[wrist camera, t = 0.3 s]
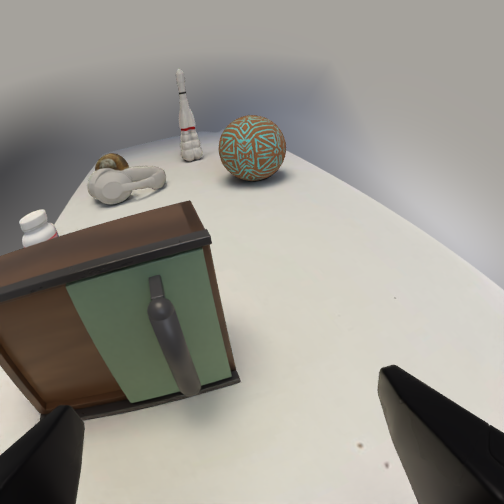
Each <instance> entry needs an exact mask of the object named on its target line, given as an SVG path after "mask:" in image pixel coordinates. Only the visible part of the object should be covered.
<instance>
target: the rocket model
mask: <svg viewBox="0 0 504 504" xmlns="http://www.w3.org/2000/svg"><path fill="white" fill-rule="evenodd" d="M176 80H177V84H178V90H179V97H180V102H179V103H180V112H179V128H181V134H182V135H181V137H180V139H181V143H180V147H181V156H182V158H183V159H184V160H187V161H192V160H194V159H200V158H201V157H202V153H203V151H202V148H201V147H200V141H199V140H198V135H197V133H196V130H195V127H194V126H196V124H195V120H194V117H193V113H192V111H191V110H190V108H189V105H188V100H187V97H186V89H185V78H184V73H183V72H182V71H181V70H180V69H178V71H177V73H176Z"/></svg>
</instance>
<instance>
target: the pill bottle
mask: <svg viewBox="0 0 504 504" xmlns="http://www.w3.org/2000/svg"><path fill="white" fill-rule="evenodd" d="M47 220H48V219H47V215H46V212H45V210H37V211H34V212H32V213H30V214H28V215H26V216H25V217H23V218H22V219H21V220H20V221H19V223H20V227H21V229H22V231H23V232H25V234H24V236H23V238H22V243H23V246H24V248H25V247H28V246H31V245H34V244H38V243H41V242H44V241H47V240H50V239H53V238H56V237H59V236H58V233H57V230H56V228H55V226H54V225H53V224H52V223H47Z"/></svg>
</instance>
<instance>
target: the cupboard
mask: <svg viewBox="0 0 504 504" xmlns="http://www.w3.org/2000/svg"><path fill="white" fill-rule="evenodd" d="M210 244H212V241H211V236H210V234H209V232H208V230H207V229H205V228H204V226H203V224H202V222H201V221H200V219H199V217H198V215H197V213H196V211H195V209H194V207H193V205H192V203H191V201H190V200H189V201H185V202H181V203H177V204H173V205H169V206H165V207H161V208H157V209H154V210H150V211H146V212H142V213H139V214H135V215H131V216H127V217H124V218H120V219H117V220H113V221H110V222H106V223H103V224H99V225H96V226H92V227H89V228H86V229H82V230H79V231H76V232H72V233H69V234H66V235H63V236H59V237H56V238H53V239H50V240H47V241H44V242H41V243H38V244H34V245H31V246H28V247H25V248H23V249H20V250H17V251H14V252H11V253H8V254H5V255H3V256H0V366H1V367H2V368H3V370H4V371H5V372H6V373H7V375H8V376H9V377H10V379H11V380H12V381H13V382H14V384H15V385H16V386H17V387H18V388H19V390H20V391H21V392H22V393H23V394H24V396H25V397H26V398H27V399H28V400H29V401H30V403H31V404H32V405H33V406H34V407H35V408H36V409H37V410H38V412H39V413H40V414H41V417H40V421H41V420H42V419H43V418H44V417H45V416H47V415H48V414H49V413H50V412H51V411H52V410H54V409H55V408H56V407H57V406H58V405H70V406H72V407H73V409H74V410H75V411H76V413H77V414H78V416H79V417H80V418H81V420H87V419H93V418H98V417H104V416H109V415H114V414H119V413H124V412H129V411H134V410H138V409H143V408H147V407H151V406H156V405H160V404H164V403H168V402H172V401H176V400H180V399H183V398H187V397H191V396H186V395H184V394H182V393H181V391H179V392H176V393H172V394H168V395H164V396H160V397H156V398H152V399H147V400H143V401H139V402H134V403H130V401H129V400H128V398H127V397H126V395H125V394H124V392H123V391H122V389H121V387H120V386H119V384H118V383H117V381H116V380H115V378H114V376H113V375H112V373H111V371H110V370H109V368H108V366H107V365H106V363H105V361H104V360H103V358H102V356H101V355H100V353H99V351H98V349H97V348H96V346H95V344H94V342H93V340H92V339H91V337H90V335H89V333H88V331H87V329H86V327H85V325H84V324H83V322H82V320H81V318H80V316H79V314H78V312H77V310H76V308H75V306H74V304H73V302H72V300H71V297H70V295H69V293H68V291H67V289H66V283H69V282H73V281H76V280H80V279H84V278H87V277H91V276H94V275H98V274H102V273H105V272H109V271H112V270H116V269H120V268H123V267H127V266H131V265H134V264H138V263H142V262H145V261H149V260H153V259H157V258H160V257H164V256H168V255H172V254H175V253H179V252H183V251H187V250H190V249H194V248H198V247H202V249H203V253H204V258H205V262H206V267H207V272H208V276H209V281H210V286H211V290H212V295H213V299H214V303H215V308H216V312H217V317H218V321H219V325H220V329H221V334H222V338H223V342H224V346H225V350H226V354H227V358H228V363H229V367H230V371H231V375H232V376H231V377H228V378H225V379H222V380H218V381H215V382H212V383H208V384H205V385H201V389H200V391H199V393H198V394H202V393H205V392H209V391H212V390H215V389H219V388H222V387H225V386H229V385H232V384H235V383H238V382H240V378H239V375H238V373H237V371H236V367H235V363H234V359H233V354H232V350H231V345H230V341H229V336H228V332H227V327H226V322H225V318H224V313H223V308H222V304H221V299H220V294H219V289H218V284H217V279H216V274H215V269H214V264H213V259H212V254H211V249H210ZM198 394H196V395H198Z"/></svg>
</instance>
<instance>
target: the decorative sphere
mask: <svg viewBox="0 0 504 504" xmlns="http://www.w3.org/2000/svg"><path fill="white" fill-rule="evenodd" d="M285 153H286V142H285V140H284V136H283V134H282V132H281V130H280V129H279V128H278V127H277V125H276V124H274V123H273V122H272V121H270V120H268V119H266V118H264V117H261V116H255V115H254V116H253V115H249V116H244V117H241V118H238V119H236V120H234V121H233V122H232V123H230V124H229V125H228V126H227V127H226V128H225V130H224V131H223V133H222V135H221V138H220V141H219V155H220V158H221V161H222V164H223V165H224V167H225V168H226V169H227V170H228V171H229V172H230V173H231V174H232V175H234V176H235V177H237V178H239V179H242V180H247V181H258V180H262V179H265V178H267V177H269V176H271V175H272V174H274V173H275V172H276V171H277V170H278V169H279V168H280V166H281V164H282V163H283V160H284V158H285Z"/></svg>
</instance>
